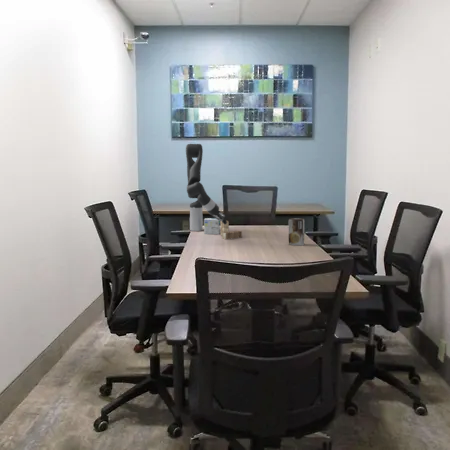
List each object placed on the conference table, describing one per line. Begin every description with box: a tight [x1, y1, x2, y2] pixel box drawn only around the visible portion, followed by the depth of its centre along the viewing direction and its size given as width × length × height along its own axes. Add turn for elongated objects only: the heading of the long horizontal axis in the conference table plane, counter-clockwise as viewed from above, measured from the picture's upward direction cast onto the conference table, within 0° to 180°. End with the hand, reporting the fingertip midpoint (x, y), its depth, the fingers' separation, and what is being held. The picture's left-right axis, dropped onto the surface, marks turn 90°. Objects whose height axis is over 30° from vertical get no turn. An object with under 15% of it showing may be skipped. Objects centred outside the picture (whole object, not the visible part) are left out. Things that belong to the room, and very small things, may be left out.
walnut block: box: [221, 230, 243, 240], centre depth 307 cm, size 4×4×14 cm
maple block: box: [220, 220, 230, 236], centre depth 318 cm, size 4×4×10 cm
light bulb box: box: [203, 217, 221, 235], centre depth 325 cm, size 11×7×11 cm, turn 84°
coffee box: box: [287, 217, 306, 246], centre depth 281 cm, size 9×6×16 cm
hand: (225, 223), depth 303 cm, fingers closed
